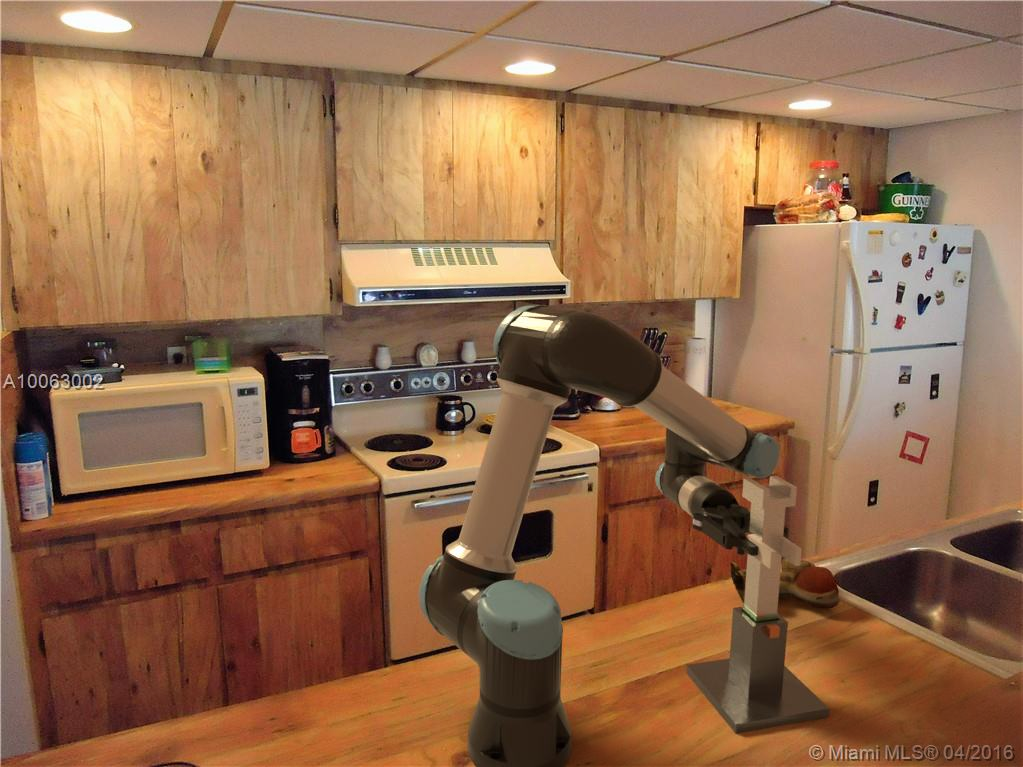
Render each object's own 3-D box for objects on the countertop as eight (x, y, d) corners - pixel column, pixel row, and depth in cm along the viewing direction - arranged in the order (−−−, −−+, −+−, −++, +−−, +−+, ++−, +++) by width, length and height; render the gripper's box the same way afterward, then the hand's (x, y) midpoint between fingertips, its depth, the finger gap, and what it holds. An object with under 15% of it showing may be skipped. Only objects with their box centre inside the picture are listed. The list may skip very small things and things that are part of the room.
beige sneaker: (722, 553, 155) (811, 541, 157) (721, 592, 157) (809, 579, 160) (756, 589, 140) (853, 576, 143) (754, 631, 143) (850, 617, 146)
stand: (735, 733, 111) (741, 648, 108) (686, 672, 127) (690, 596, 124) (828, 717, 115) (836, 634, 112) (769, 660, 130) (775, 586, 127)
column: (751, 661, 116) (763, 490, 110) (732, 642, 121) (743, 478, 116) (783, 656, 117) (797, 487, 112) (763, 637, 123) (775, 475, 117)
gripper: (749, 519, 135) (832, 576, 113) (664, 527, 131) (733, 588, 109) (751, 479, 134) (837, 529, 112) (666, 487, 130) (736, 540, 108)
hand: (785, 558), depth 110 cm, fingers closed on column, 4 cm apart
